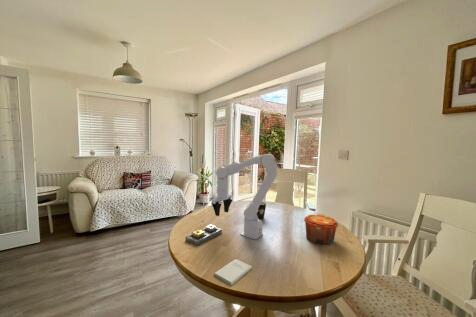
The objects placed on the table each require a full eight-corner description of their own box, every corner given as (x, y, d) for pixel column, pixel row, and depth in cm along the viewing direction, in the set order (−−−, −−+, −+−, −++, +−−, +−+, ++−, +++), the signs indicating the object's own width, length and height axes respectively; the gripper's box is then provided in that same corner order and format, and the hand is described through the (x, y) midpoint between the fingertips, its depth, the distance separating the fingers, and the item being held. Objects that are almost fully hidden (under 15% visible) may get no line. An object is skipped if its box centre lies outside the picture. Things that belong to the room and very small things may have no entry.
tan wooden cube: (203, 239, 102) (204, 231, 101) (198, 242, 98) (198, 234, 98) (198, 237, 104) (198, 229, 104) (192, 240, 101) (192, 232, 100)
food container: (333, 235, 111) (334, 216, 110) (339, 250, 95) (341, 227, 95) (302, 231, 115) (303, 212, 114) (303, 244, 100) (305, 222, 99)
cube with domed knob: (215, 233, 109) (216, 225, 109) (210, 236, 106) (211, 228, 105) (210, 231, 111) (210, 224, 111) (205, 234, 108) (205, 226, 108)
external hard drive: (213, 276, 74) (235, 262, 84) (231, 287, 69) (251, 270, 79) (213, 272, 74) (235, 258, 84) (231, 282, 69) (252, 265, 79)
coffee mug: (265, 215, 138) (266, 201, 137) (265, 220, 130) (266, 205, 129) (248, 214, 139) (248, 200, 138) (247, 219, 131) (247, 204, 130)
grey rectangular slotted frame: (221, 232, 110) (222, 229, 110) (197, 245, 95) (197, 241, 95) (210, 228, 114) (210, 225, 114) (185, 240, 100) (185, 236, 100)
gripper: (225, 186, 119) (224, 209, 120) (207, 190, 107) (207, 215, 108) (234, 187, 115) (234, 211, 116) (218, 192, 103) (217, 218, 104)
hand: (221, 213), depth 112 cm, fingers open, 7 cm apart
